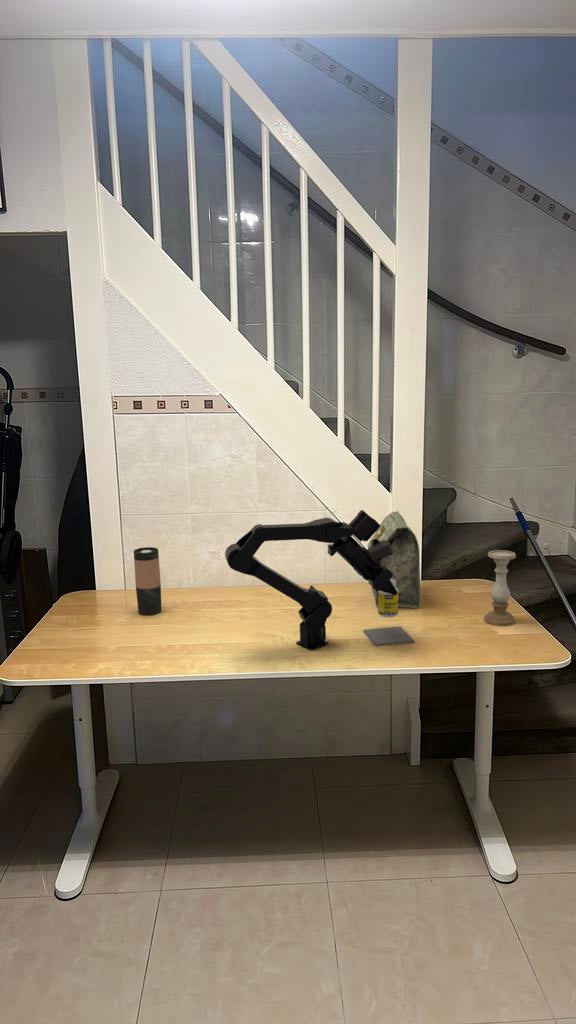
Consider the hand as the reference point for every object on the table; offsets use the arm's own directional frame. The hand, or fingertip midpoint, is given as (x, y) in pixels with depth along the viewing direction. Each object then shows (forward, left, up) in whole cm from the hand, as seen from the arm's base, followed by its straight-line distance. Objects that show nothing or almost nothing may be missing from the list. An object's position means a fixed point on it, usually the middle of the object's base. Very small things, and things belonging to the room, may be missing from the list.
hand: (393, 590), depth 188 cm
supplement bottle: (-1, +1, -7) cm, 7 cm away
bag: (+25, +23, -13) cm, 36 cm away
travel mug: (-40, +66, -13) cm, 78 cm away
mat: (-1, +1, -13) cm, 13 cm away
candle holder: (+32, -12, -13) cm, 37 cm away
